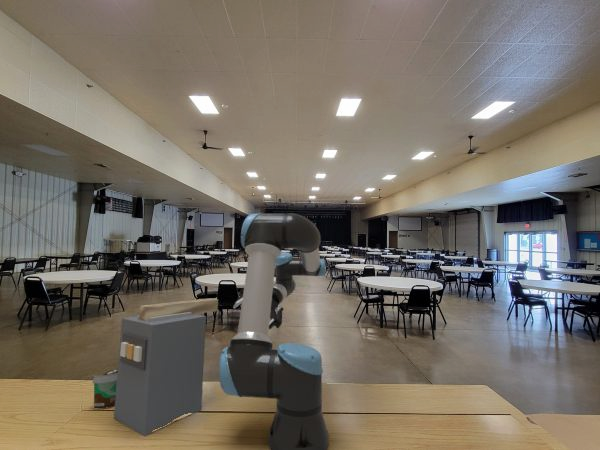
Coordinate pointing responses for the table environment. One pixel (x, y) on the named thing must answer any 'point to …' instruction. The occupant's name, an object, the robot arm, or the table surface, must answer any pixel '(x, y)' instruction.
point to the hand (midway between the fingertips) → (249, 317)
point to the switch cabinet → (159, 370)
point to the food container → (105, 389)
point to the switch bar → (178, 308)
